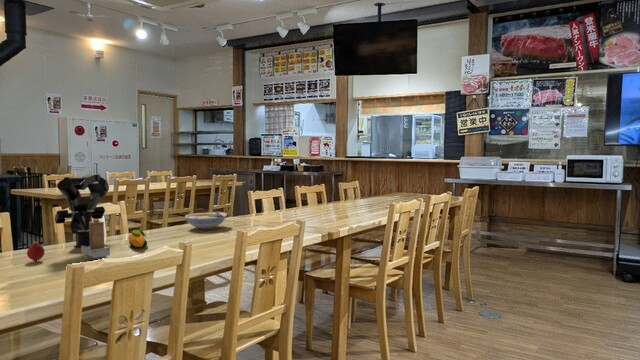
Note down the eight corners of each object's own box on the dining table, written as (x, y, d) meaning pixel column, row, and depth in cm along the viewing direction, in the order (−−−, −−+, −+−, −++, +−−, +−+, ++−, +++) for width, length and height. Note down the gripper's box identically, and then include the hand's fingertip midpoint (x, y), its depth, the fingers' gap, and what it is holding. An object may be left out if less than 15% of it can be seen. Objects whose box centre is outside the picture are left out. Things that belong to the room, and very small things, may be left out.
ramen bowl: (184, 226, 263) (184, 211, 263) (224, 223, 270) (224, 210, 269) (185, 233, 239) (184, 218, 239) (229, 230, 246) (229, 215, 246)
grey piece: (78, 257, 186) (78, 245, 186) (99, 254, 192) (99, 242, 192) (91, 263, 176) (90, 250, 176) (112, 259, 182) (112, 246, 182)
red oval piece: (41, 259, 185) (40, 239, 184) (47, 261, 181) (46, 241, 180) (25, 261, 180) (24, 241, 180) (30, 264, 176) (29, 243, 176)
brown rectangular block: (89, 249, 183) (88, 219, 182) (99, 247, 186) (98, 218, 185) (94, 251, 179) (93, 220, 179) (104, 249, 182) (103, 219, 181)
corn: (143, 226, 216) (149, 233, 199) (144, 242, 217) (151, 250, 199) (126, 229, 213) (131, 235, 195) (128, 245, 213) (133, 253, 196)
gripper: (55, 191, 186) (66, 220, 180) (102, 188, 200) (114, 215, 193) (50, 208, 192) (60, 238, 186) (96, 204, 206) (107, 231, 199)
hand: (86, 230), depth 191 cm, fingers closed
